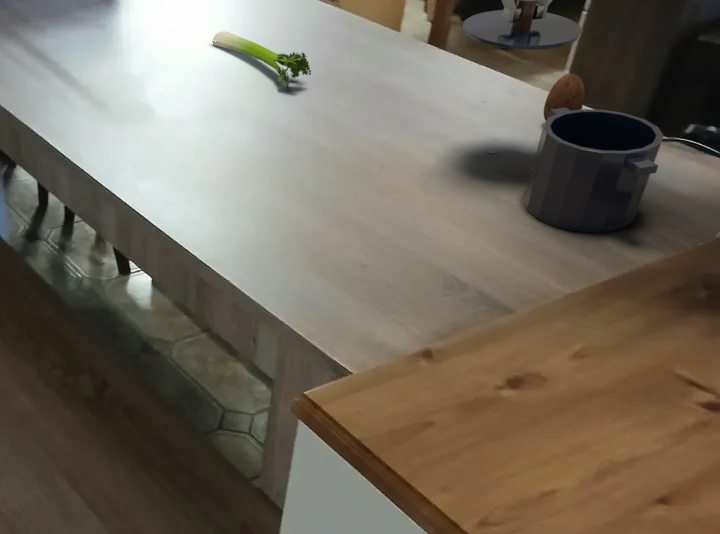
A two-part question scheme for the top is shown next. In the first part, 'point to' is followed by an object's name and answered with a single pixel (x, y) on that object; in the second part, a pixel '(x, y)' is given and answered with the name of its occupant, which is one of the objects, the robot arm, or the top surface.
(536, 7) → the robot arm
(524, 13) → the lid
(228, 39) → the celery stalk
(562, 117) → the pot
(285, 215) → the top surface
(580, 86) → the coconut
